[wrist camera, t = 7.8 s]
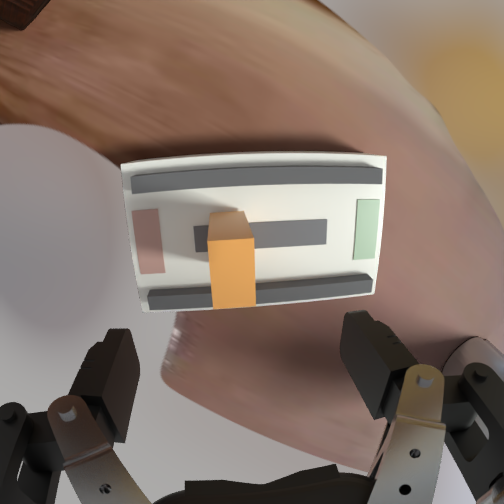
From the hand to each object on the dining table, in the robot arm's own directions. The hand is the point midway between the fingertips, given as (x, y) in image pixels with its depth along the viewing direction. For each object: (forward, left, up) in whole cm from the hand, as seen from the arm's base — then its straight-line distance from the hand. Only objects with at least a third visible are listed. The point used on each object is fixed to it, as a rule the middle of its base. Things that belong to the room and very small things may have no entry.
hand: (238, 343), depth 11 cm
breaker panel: (-3, 0, -17) cm, 17 cm away
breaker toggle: (0, 0, -13) cm, 13 cm away
